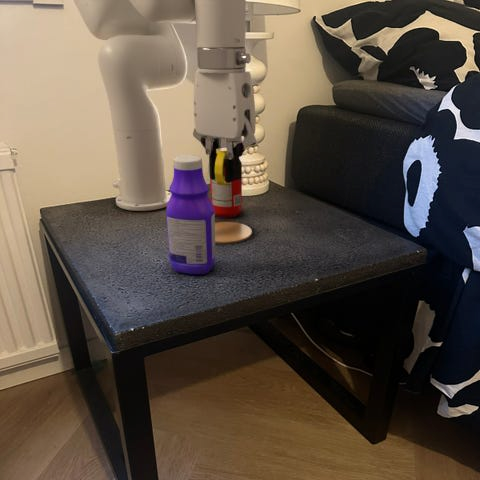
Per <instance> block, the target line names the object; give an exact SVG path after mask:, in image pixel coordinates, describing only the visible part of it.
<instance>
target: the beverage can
mask: <svg viewBox="0 0 480 480" xmlns="http://www.w3.org/2000/svg"><path fill="white" fill-rule="evenodd" d="M224 177H225V158H224V176H223V178H224ZM209 186H210V188H209V190H210V201H211V202H212V205H213V207H214V213H215V217H219V218H224V219H225V218H228V219H229V218H234V217H237V216H238V214H240V213H241V212H242V210H243V205H242V204H243V163H242V161H241V159H240V158H239V179H238V180H236V181H233V182H230V183H228V184H227V185H218V184H217V182H216V179H214V180H212V179H210V178H209Z"/></svg>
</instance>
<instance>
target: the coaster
mask: <svg viewBox="0 0 480 480" xmlns="http://www.w3.org/2000/svg"><path fill="white" fill-rule="evenodd" d="M252 234H253V231H252V228H251V227H250V226H248V225H246V224H244V223H240V222H235V221H234V222H233V221H218V222H215V244H220V245H221V244H223V245H225V244H227V245H228V244H237V243H240V242H241V243H242V242H243V241H245V240H246V241H247V240H248V239H250V238H251V236H252Z"/></svg>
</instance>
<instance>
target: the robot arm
mask: <svg viewBox="0 0 480 480" xmlns="http://www.w3.org/2000/svg"><path fill="white" fill-rule="evenodd" d="M73 2H74V4H75V7H76V8H77V10H78V12H79V14H80V16H81V18H82V20H83V22H84V24H85V26H86V27H87V30H88V31H89V32H90V33H91V34H92V36H93V37H95V38H96V39H98V40H101V41H104V42H103V43H102V44H101V45H100V48H99V50H98V54H97V62H98V69H99V72H100V75H101V78H102V81H103V85H104V88H105V91H106V95H107V100H108V105H109V110H110V117H111V122H112V124H111V125H112V130H113V137H114V145H115V151H116V159H117V166H118V174H119V176H118V177H117V180H116V181H113V183H112V187H113V188H116V189H118V190H119V194H118V195H117V196H116V197H115V204H116V206H117V207H119V208H120V209H122V210H125V211H131V212H133V211H134V212H148V211H156V210H160V209H164V208H167V204H168V202H169V199H170V197H171V194H172V193H171V192H170V191H168V190H167V187H166V174H165V173H166V172H165V161H164V151H163V140H162V127H161V119H160V114H159V111H158V108H157V106H156V104H155V103H154V102H153V100H152V98H151V97H150V95H149V93H148V92H149V91H150V92H151V91H158V90H166V89H167V90H168V89H173V88H176V87H178V86H180V85H182V84H183V82H184V81H185V79H186V77H187V73H188V59H187V55H186V51H185V48H184V46H183V44H182V43H183V42H182V41H181V39H180V37H179V35H178V33H177V30H176V29H175V27H174V24H189V25H190V24H191V25H192V24H195V32H196V33H195V36H196V55H197V70H196V71H195V74H194V75H195V76H194V84H193V85H194V86H193V123H194V129H193V132H192V137H194V139H196V140H197V141H198V142H200V143H201V145H202V147H203V148H204V150H205V154H206V156H208V163H209V165H208V166H209V180H210V179H212V180H214V179H216V178H215V162H216V157H217V153H216V149H218V148H222V140H225V145H226V147H225V148H227V157H228V158H227V159H225V181H226V183H230V182H233V181H236V180H238V179H239V159H240V158H241V157H243V154H244V153H245V151H246V150H247V149H249V148H250V147H253V146H255V145H256V144H257V139H256V136H255V133H256V105H255V104H256V103H255V92H254V85H253V79H252V75H251V72H250V71H249V70H247V67H246V66H247V64H250V63H251V60H252V57H251V54H250V53H247V48H246V45H247V44H246V43H247V41H246V40H247V39H246V38H247V37H246V33H247V32H246V29H247V28H246V14H247V13H246V12H247V11H246V10H247V9H246V8H247V7H246V5H247V4H246V0H73ZM242 137H243V138H242ZM223 176H224V163H223Z"/></svg>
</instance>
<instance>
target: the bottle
mask: <svg viewBox="0 0 480 480" xmlns="http://www.w3.org/2000/svg"><path fill="white" fill-rule="evenodd" d="M172 159H173V178H172V181H171V184H170V185H169V192H170V193H172V194H171V197H170V199H169V202H168V204H167V207H166V209H165V210H166V211H165V216H166V218H165V219H166V227H167V228H166V230H167V243H168V254H169V255H168V256H169V257H168V258H169V263H170V266H171V268H172V270H173V271H175V272H178V273H181V274H189V275H205V274H208V273H209V272H210V271H211V270H212V268H213V266H214V264H215V261H216V243H215V223H216V218H215V217H216V214H215V213H214V207H213V205H212V202H211V198H210V197H209V196H208V193H209V191H210V188H209V185H208V184H207V182H206V180H205V176H204V171H203V170H204V169H203V158H202V157H201V156H199V155H197V154H196V155H195V154H181V155H176V156H174V157H173V158H172Z"/></svg>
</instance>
